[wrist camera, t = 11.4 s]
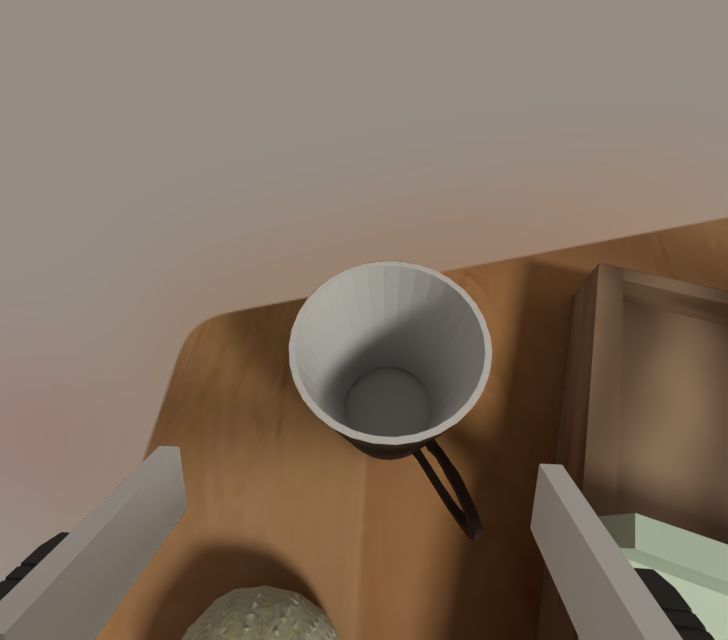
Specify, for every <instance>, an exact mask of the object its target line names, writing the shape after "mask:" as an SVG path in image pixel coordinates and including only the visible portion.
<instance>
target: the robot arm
mask: <svg viewBox="0 0 728 640" xmlns="http://www.w3.org/2000/svg"><path fill="white" fill-rule="evenodd" d="M187 509H188V507H187V499H186V492H185V485H184V478H183V471H182V464H181V456H180V449H179V447H175V446H159V447H158V448H157V449H156V450H155V451H154V452H153V453H152V454H151V455H150V456H149V457H148V458H146V459H145V460H144V461H143V462H142V463H141V464H140V465H139V466H138V467H137V468H136V469H135V470H134V471H133V472H132V473H131V474H130V475H129V476H128V477H127V478H126V479H125V480H124V481H123V482H122V483H121V484H120V485H119V486H118V487H117V488H116V489H115V490H114V491H113V492H112V493H111V494H110V495H109V496H107V497H106V498H105V499H104V500H103V501H102V502H101V503H100V504H99V505H98V506H97V507H96V508H95V509H94V510H93V511H92V512H91V513H90V514H89V515H88V516H87V517H86V518H85V519H84V520H83V521H82V522H81V523H80V524H79V525H78V526H77V527H76V528H75V529H74V530H73V531H72V532H71V533H65V532H61V533H60V534H58V535H56V536H55V537H53V538H52V539H50V540H49V541H47V542H46V543H44V544H42V545H41V546H39V547H38V548H37V549H36V550H35V551H34V552H33V553H32V554H31V555H30V556H29V557H27V558H26V559H25V560H24V561H23V562H22V563H21V566H20V567H17V568H15V570H13V571H12V572H11V573H10V574H9V575H8V576H7V577H6V579H5V581H1V582H0V640H95V639H96V637H97V636H98V634H99V633H100V632H101V630H102V629H103V627H104V626H105V625H106V623H107V622H108V620H109V619H110V617H111V616H112V615H113V613H114V612H115V610H116V609H117V608H118V606H119V605H120V603H121V602H122V600H123V599H124V598H125V596H126V595H127V593H128V592H129V591H130V589H131V588H132V586H133V585H134V584H135V582H136V581H137V579H138V578H139V576H140V575H141V574H142V572H143V571H144V569H145V568H146V567H147V565H148V564H149V562H150V561H151V559H152V558H153V557H154V555H155V554H156V552H157V551H158V550H159V548H160V547H161V545H162V544H163V543H164V541H165V540H166V538H167V537H168V535H169V534H170V533H171V531H172V530H173V528H174V527H175V526H176V524H177V523H178V521H179V520H180V519H181V517H182V516H183V514H184V513H185V511H186V510H187ZM530 529H531V531H532V533H533V536H534V538H535V540H536V542H537V545H538V547H539V549H540V551H541V554H542V556H543V558H544V560H545V563H546V565H547V567H548V569H549V572H550V574H551V576H552V578H553V581H554V583H555V585H556V587H557V589H558V592H559V594H560V596H561V598H562V601H563V603H564V605H565V607H566V610H567V612H568V614H569V616H570V619H571V621H572V623H573V625H574V628H575V630H576V632H577V634H578V637H579V639H580V640H715V639H714V638H713V636H712V635H711V634H710V632H707V631H706V627H705V626H704V625H703V623H702V622H701V621H700V619H699V618H698V617H697V616H696V614H693V612H692V609H691V608H690V606H689V605H688V604H687V603H686V601H685V600H684V599H683V597H682V596H681V595H680V593H679V592H678V591H677V590H676V588H675V587H674V586H672V585H671V584H670V583H669V582H668V581H667V580H665V579H664V578H663V577H662V576H661V575H659V574H658V573H657V572H656V571H655V570H654V569H644V568H633V567H632V565H631V564H630V562H629V561H628V559H627V558H626V557H625V555H624V554H623V552H622V551H621V549H620V548H619V546H618V545H617V544H616V542H615V541H614V539H613V538H612V536H611V535H610V533H609V532H608V531H607V529H606V528H605V526H604V525H603V523H602V522H601V520H600V519H599V518H598V516H597V515H596V513H595V512H594V510H593V509H592V507H591V506H590V505H589V503H588V502H587V500H586V499H585V497H584V496H583V494H582V493H581V492H580V490H579V489H578V487H577V486H576V484H575V483H574V481H573V480H572V479H571V477H570V476H569V474H568V473H567V471H566V470H565V468H564V467H563V465H558V464H539V470H538V477H537V484H536V491H535V498H534V505H533V512H532V519H531V526H530Z"/></svg>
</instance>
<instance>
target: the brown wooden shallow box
mask: <svg viewBox="0 0 728 640" xmlns="http://www.w3.org/2000/svg"><path fill="white" fill-rule="evenodd" d="M555 464H558V465H563V467H564V468H565V470H566V471H567V473H568V474H569V476H570V477H571V479H572V480H573V481H574V483H575V484H576V486H577V487H578V489H579V490H580V492H581V493H582V494H583V496H584V497H585V499H586V500H587V502H588V503H589V505H590V506H591V507H592V509H593V510H594V512H595V513H596V515H597V516H608V515H619V514H630V513H637V514H640V515H643V516H646V517H649V518H651V519H654V520H657V521H660V522H663V523H666V524H669V525H672V526H675V527H678V528H681V529H684V530H686V531H689V532H692V533H695V534H698V535H701V536H704V537H707V538H710V539H713V540H716V541H719V542H721V543H724V544H727V545H728V291H725V290H721V289H716V288H711V287H707V286H702V285H698V284H693V283H689V282H684V281H680V280H675V279H670V278H666V277H661V276H657V275H652V274H648V273H643V272H639V271H634V270H629V269H625V268H620V267H616V266H611V265H607V264H602V263H599V264H598V265H597V266H596V268H595V269H594V270H593V271H592V273H591V274H590V275H589V277H588V278H587V279H586V280H585V282H584V283H583V284H582V286H581V287H580V288H579V289H578V291H577V292H576V293H575V295H574V296H573V302H572V312H571V321H570V330H569V340H568V349H567V358H566V368H565V377H564V386H563V396H562V405H561V414H560V424H559V433H558V442H557V452H556V461H555ZM536 640H578V634H577V632H576V630H575V628H574V625H573V623H572V621H571V619H570V616H569V614H568V612H567V610H566V607H565V605H564V603H563V601H562V598H561V596H560V594H559V592H558V589H557V587H556V585H555V583H554V581H553V578H552V576H551V574H550V572H549V569H548V567H547V565H546V563H545V564H544V573H543V583H542V592H541V601H540V611H539V620H538V629H537V639H536Z"/></svg>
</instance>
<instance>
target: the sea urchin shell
mask: <svg viewBox="0 0 728 640" xmlns="http://www.w3.org/2000/svg"><path fill="white" fill-rule="evenodd" d="M181 640H339V638H338V634H337V631H336V629H335V627H334V625H333V624H332V622H331V620H330V619H329V617H328V616H327V614H326V613H325V612H324V611H323V610H322V609H321V608H319V607H317V606H316V605H314V604H313V602H312V601H311V602H310V601H309V600H308V599H306V598H305V597H303V596H302V595H301V594H300V593H296V592H294V591H288V590H283V589H280V588H275V587H273V586H272V587H270V586H266V585H263V586H261V587H252V588H238V589H236V588H235V589H234V590H232V591H230V592H229V593H227V594H225V595H223V596H222V597H219V598H217V599H215V600H214V602H213V603H212V604H211V605H210V606H209V607H208V608H207V609H206V611H205V612H204V613H203V614H202V615H201V616H200V617H199V618H198V619H197V620H196V621H195V622H194V623H193V624H191V626H190V627H187V632H186V633H185V635H184V636H183V637H182V639H181Z"/></svg>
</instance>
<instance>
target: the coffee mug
mask: <svg viewBox="0 0 728 640" xmlns="http://www.w3.org/2000/svg"><path fill="white" fill-rule="evenodd" d="M491 362H492V345H491V336H490V333H489V330H488V327H487V324H486V321H485V318H484V316H483V315H482V313H481V311H480V309H479V308H478V306H477V304H476V303H475V302H474V301H473V299H472V298H471V297H470V296H469V295H468V294H467V293H466V291H465V290H464V289H462V288H461V287H460V286H459V285H457V284H456V283H455V282H454V281H452V280H451V279H450V278H448V277H446V276H444V275H442V274H441V273H439V272H437V271H435V270H432V269H429V268H427V267H424V266H421V265H418V264H412V263H407V262H401V261H399V262H398V261H380V262H373V263H366V264H362V265H359V266H356V267H352V268H349V269H347V270H345V271H343V272H341V273H339V274H337V275H335V276H333V277H332V278H330V279H329V280H327V281H326V282H325V283H323V284H322V285H320V286H319V287H318V288H317V289H316V290H315V291H314V293H313V294H311V296H310V297H309V298H308V299H307V300H306V302H305V303H304V305H303V306H302V308H301V309H300V311H299V312H298V315H297V317H296V319H295V322H294V324H293V327H292V330H291V335H290V341H289V365H290V369H291V373H292V377H293V381H294V383H295V385H296V387H297V389H298V391H299V393H300V395H301V397H302V399H303V400H304V402H305V403H306V404H307V405H308V407H309V408H310V409H311V410H312V411H313V413H314V414H315V415H316V416H317V417H319V418H320V419H321V420H322V421H324V422H325V423H326V424H327V425H329V426H330V427H331V428H332V429H334V430H335V431H336V432H338V433H339V434H340V435H341V436H343V437H344V438H345V439H347V440H348V441H349V442H350V443H352V444H353V445H354V446H355V447H357V448H358V449H359V450H361V451H362V452H364V453H365V454H367V455H369V456H371V457H375V458H379V459H386V460H394V459H401V458H404V457H407V456H409V455H412V454H413V455H414V456H415V458H416V459H417V460H418V462H419V463H420V465H421V467H422V468H423V470H424V471H425V473H426V475H427V476H428V478H429V480H430V481H431V483H432V484H433V486H434V488H435V489H436V491H437V492H438V494H439V496H440V497H441V499H442V501H443V502H444V504H445V505H446V507H447V508H448V510H449V511H450V513H451V514H452V516H453V517H454V519H455V520H456V522H457V523H458V524H459V526H460V527H461V528H462V530H463V531H464V532H465V534H466V535H467V536H468V537H469V538H470V539H472V540H475V539H477V538H479V537H480V536H482V533H483V527H482V524H481V521H480V518H479V515H478V513H477V510H476V508H475V506H474V503H473V501H472V499H471V497H470V495H469V493H468V491H467V488H466V486H465V484H464V482H463V480H462V478H461V476H460V475H459V473H458V471H457V470H456V468H455V467H454V466H453V464H452V463H451V462H450V460H449V459H448V457H447V456H446V454H445V453H444V451H443V450H442V449H441V447H440V446H439V445H438V444H437V442H436V441H435V438H437V437H438V436H439V435H441V434H442V433H444V432H445V431H447V430H448V429H449V428H451V427H452V426H454V425H455V424H456V423H458V422H459V421H460V420H461V419H462V418H463V417H464V416H465V415H466V414H467V413H468V412H469V411H470V410H471V409H472V408H473V407H474V405H475V404H476V402H477V401H478V399H479V397H480V396H481V394H482V393H483V391H484V389H485V386H486V383H487V380H488V378H489V375H490V371H491ZM424 446H426V447H427V449H428V450H429V451H430V452H431V453H432V454H433V455H434V456H435V458H436V459H437V461H438V462H439V464H440V466H441V467H442V469H443V471H444V473H445V475H446V477H447V479H448V480H449V482H450V484H451V486H452V487H453V489H454V491H455V493H456V495H457V497H458V499H459V502H460V504H461V507H462V509H463V512H464V513H463V512H462V510H460V509H459V507H458V506H457V505H456V504H455V502H454V501H453V499H452V498H451V496H450V495H449V493H448V492H447V490H446V489H445V487H444V486H443V484H442V483H441V481H440V480H439V478H438V476H437V475H436V473H435V472H434V470H433V469H432V467H431V466H430V464H429V462H428V461H427V459H426V458H425V456H424V455H423V453H422V451H421V450H420V449H421V448H422V447H424Z"/></svg>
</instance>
